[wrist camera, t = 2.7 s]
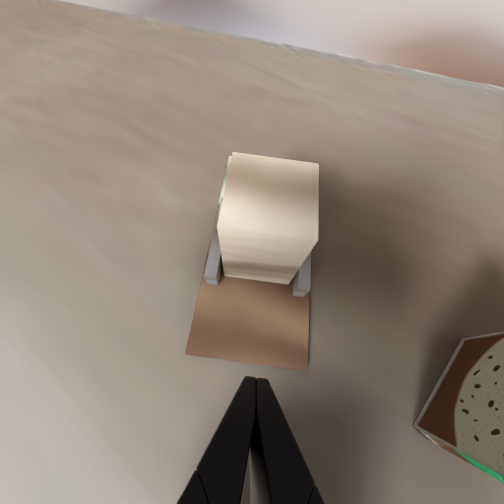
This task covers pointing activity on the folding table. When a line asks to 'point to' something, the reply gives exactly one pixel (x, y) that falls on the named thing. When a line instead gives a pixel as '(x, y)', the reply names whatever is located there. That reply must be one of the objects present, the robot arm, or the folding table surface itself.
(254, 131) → the folding table surface
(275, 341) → the chute
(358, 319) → the folding table surface
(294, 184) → the block
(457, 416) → the food container
